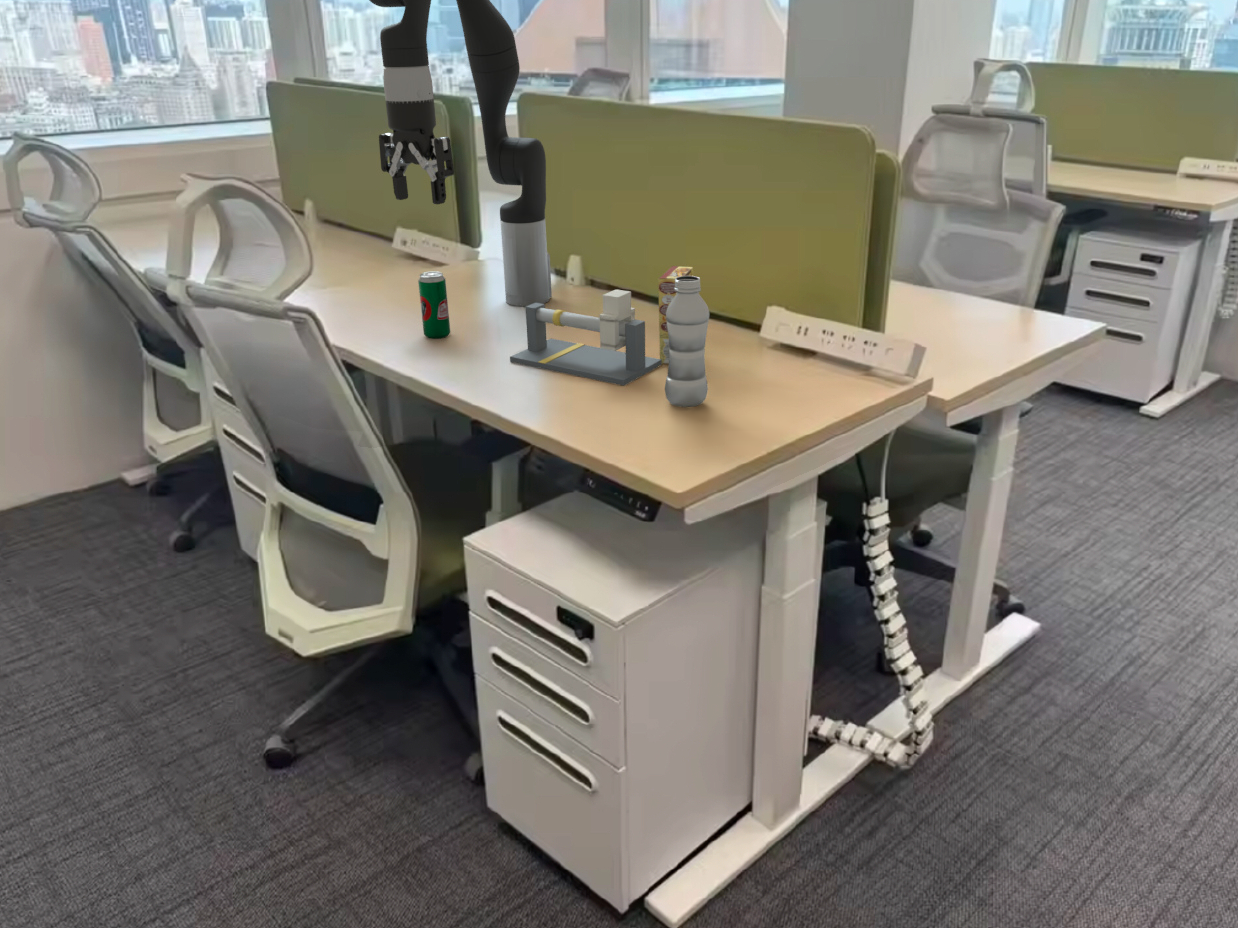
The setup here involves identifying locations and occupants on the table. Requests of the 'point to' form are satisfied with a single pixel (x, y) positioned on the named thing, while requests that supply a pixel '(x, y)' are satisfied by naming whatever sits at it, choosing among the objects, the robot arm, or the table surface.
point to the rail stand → (584, 348)
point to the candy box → (665, 299)
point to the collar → (615, 318)
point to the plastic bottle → (687, 344)
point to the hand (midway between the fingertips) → (420, 201)
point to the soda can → (434, 305)
